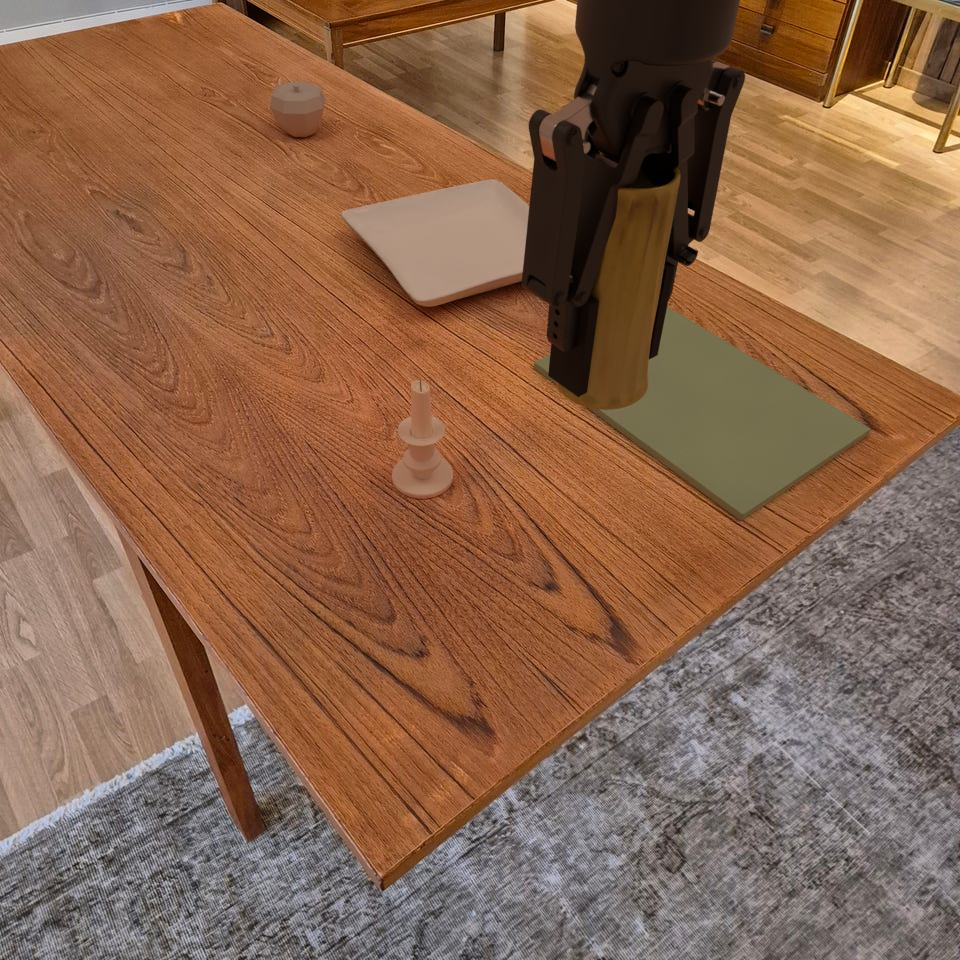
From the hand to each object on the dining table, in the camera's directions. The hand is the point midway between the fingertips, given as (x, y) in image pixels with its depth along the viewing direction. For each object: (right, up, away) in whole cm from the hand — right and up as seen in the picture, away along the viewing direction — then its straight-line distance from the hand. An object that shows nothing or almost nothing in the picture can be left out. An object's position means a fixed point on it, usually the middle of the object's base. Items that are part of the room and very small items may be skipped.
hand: (603, 364), depth 56 cm
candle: (-13, -7, +20) cm, 24 cm away
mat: (+13, 0, +28) cm, 31 cm away
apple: (-33, +42, +70) cm, 89 cm away
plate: (-10, +18, +46) cm, 51 cm away
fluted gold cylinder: (0, -1, +1) cm, 2 cm away
